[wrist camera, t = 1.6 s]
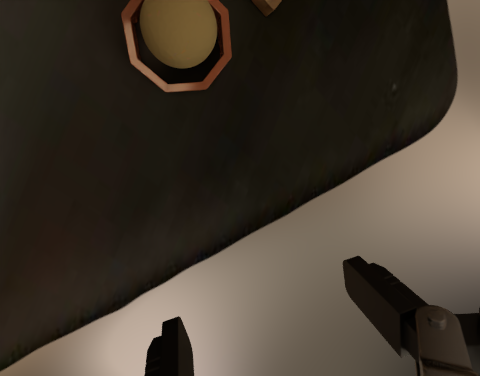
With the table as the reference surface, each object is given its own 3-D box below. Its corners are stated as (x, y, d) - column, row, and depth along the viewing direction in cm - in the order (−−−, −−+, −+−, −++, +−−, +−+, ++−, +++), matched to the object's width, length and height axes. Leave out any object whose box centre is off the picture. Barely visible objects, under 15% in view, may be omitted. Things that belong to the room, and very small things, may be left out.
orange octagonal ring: (109, 45, 29) (102, 39, 26) (168, -39, 28) (167, -54, 25) (188, 110, 33) (189, 111, 30) (243, 38, 32) (250, 33, 29)
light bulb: (135, 28, 29) (116, -1, 20) (186, -5, 29) (190, -51, 20) (172, 84, 32) (170, 81, 22) (219, 53, 32) (236, 36, 22)
